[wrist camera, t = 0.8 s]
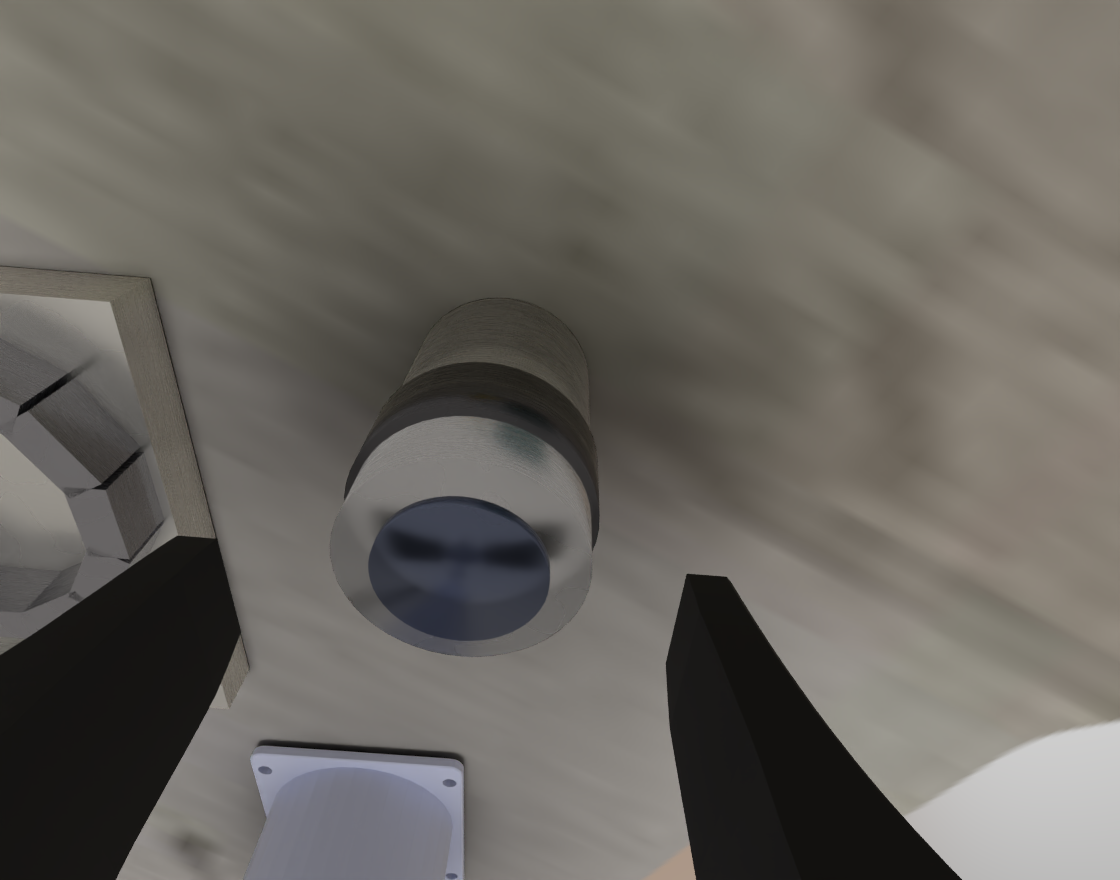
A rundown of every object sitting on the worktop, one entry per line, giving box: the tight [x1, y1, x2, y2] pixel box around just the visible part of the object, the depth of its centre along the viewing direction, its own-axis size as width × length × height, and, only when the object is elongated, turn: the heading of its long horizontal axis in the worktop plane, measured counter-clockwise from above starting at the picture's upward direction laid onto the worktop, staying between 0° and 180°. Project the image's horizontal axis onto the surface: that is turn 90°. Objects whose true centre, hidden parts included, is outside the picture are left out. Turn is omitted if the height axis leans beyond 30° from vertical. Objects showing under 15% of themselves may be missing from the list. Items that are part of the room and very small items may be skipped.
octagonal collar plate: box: [0, 266, 249, 709], centre depth 18 cm, size 14×9×3 cm, turn 176°
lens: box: [330, 298, 599, 657], centre depth 14 cm, size 5×5×7 cm
